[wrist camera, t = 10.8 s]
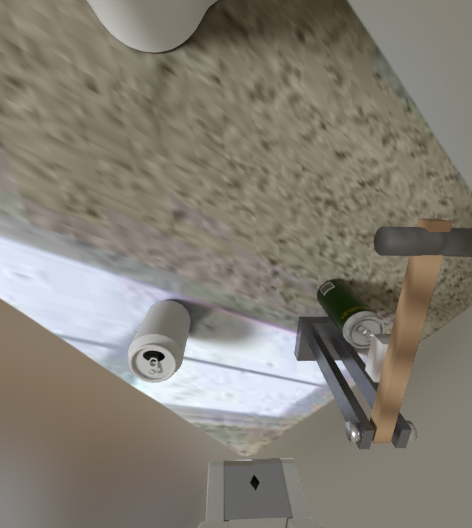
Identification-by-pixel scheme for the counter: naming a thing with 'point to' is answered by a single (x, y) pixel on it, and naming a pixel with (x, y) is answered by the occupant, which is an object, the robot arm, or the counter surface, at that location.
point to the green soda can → (349, 313)
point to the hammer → (408, 310)
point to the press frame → (338, 348)
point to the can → (160, 342)
